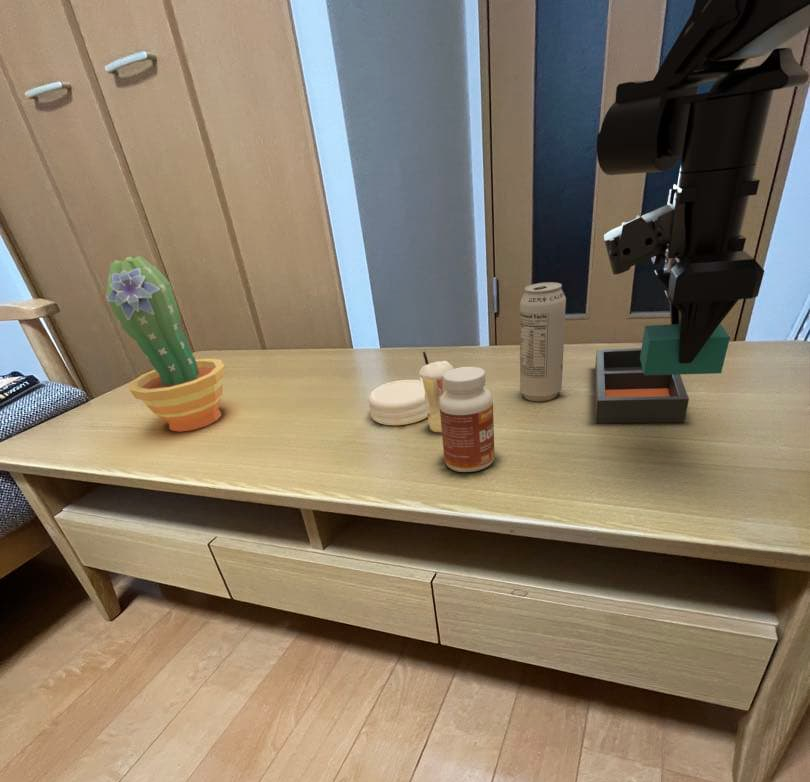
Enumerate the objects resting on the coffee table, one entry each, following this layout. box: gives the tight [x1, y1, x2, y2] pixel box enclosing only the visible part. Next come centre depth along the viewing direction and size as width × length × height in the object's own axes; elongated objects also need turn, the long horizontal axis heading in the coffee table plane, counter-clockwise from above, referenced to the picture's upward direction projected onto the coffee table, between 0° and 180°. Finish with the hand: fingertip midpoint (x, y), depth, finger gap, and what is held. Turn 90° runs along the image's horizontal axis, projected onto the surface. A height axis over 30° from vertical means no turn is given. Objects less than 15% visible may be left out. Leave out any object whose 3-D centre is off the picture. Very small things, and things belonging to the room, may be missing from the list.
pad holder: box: [594, 347, 690, 424], centre depth 73 cm, size 20×10×3 cm, turn 164°
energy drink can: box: [519, 281, 567, 402], centre depth 73 cm, size 6×6×15 cm
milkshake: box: [418, 351, 455, 434], centre depth 70 cm, size 5×5×10 cm
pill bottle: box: [439, 366, 495, 473], centre depth 61 cm, size 6×6×11 cm
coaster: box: [367, 379, 428, 426], centre depth 78 cm, size 10×10×4 cm
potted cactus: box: [105, 254, 226, 432], centre depth 81 cm, size 15×15×25 cm
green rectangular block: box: [640, 323, 731, 375], centre depth 53 cm, size 7×5×4 cm
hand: (681, 353), depth 53 cm, fingers closed on green rectangular block, 5 cm apart
